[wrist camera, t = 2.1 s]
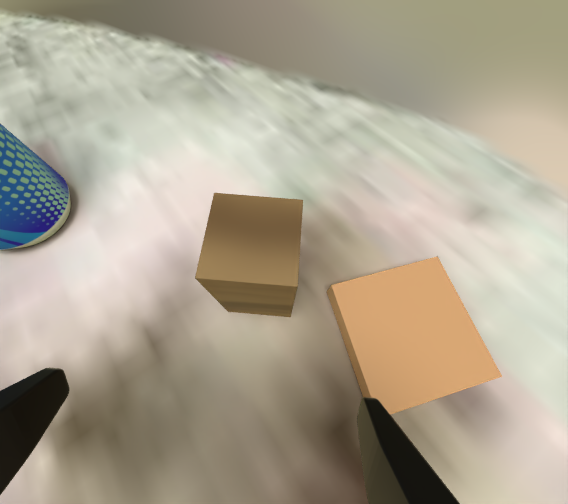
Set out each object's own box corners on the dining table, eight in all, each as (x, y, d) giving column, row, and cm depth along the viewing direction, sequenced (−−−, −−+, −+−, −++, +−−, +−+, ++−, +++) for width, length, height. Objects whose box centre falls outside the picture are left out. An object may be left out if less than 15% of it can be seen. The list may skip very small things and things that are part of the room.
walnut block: (290, 316, 21) (297, 286, 13) (228, 311, 21) (195, 278, 13) (294, 258, 23) (303, 200, 15) (237, 254, 23) (214, 193, 15)
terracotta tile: (366, 411, 19) (378, 418, 17) (325, 293, 22) (331, 285, 20) (476, 374, 20) (502, 376, 18) (421, 267, 23) (437, 256, 21)
